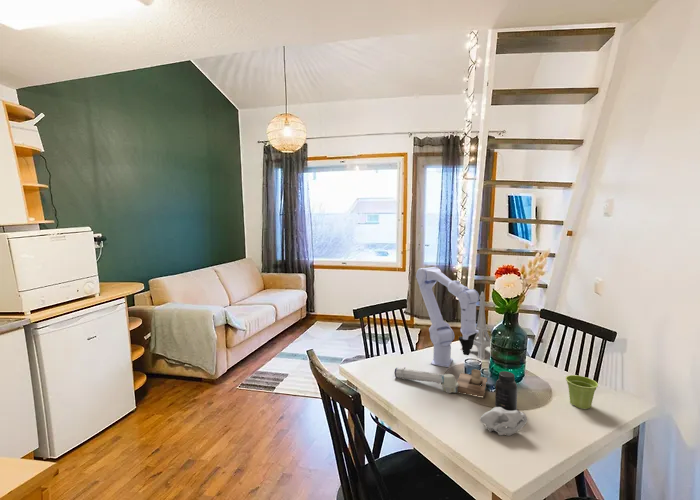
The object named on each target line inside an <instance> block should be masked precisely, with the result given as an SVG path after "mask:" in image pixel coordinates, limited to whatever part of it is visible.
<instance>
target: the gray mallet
mask: <svg viewBox="0 0 700 500" xmlns="http://www.w3.org/2000/svg"><path fill="white" fill-rule="evenodd" d="M394 377H395V378H396V379H403V380H404V381H405V380H413V381H421V382H429V383H438V384H440V385H441V387H442V390H443V392H446V393H447V394H451V393H454V394H455V393H458V388H457V387H458V386H459V384H458V382H457V381H456V380H457V379H456V377H455V376H454V374H452V373H444V374H441V373H439V374H438V373H434V372H429V371H428V372H427V371H422V370H418V369H417V370H416V369H411V368H406V367H403V368H402V367H396V368H395V369H394Z"/></svg>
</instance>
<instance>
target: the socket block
mask: <svg viewBox="0 0 700 500" xmlns="http://www.w3.org/2000/svg"><path fill="white" fill-rule="evenodd" d="M456 382H458V384H459V386H458V387H457V388H458V392H460V393H459V394H463V393H466V394H465V395H467V394H472V395H477V396H483V397H484V398H485V394H486V391H485V388H486V389H487V387H486V382H487V383H488V377H483V376H481V381H480V385H481V384H482V386H477V385H472V383H471V374H469V373H463V372H460V374H459V377H458V379H457V381H456ZM458 392H457V393H458ZM484 393H485V394H484Z"/></svg>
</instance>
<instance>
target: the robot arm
mask: <svg viewBox="0 0 700 500" xmlns="http://www.w3.org/2000/svg"><path fill="white" fill-rule="evenodd" d="M415 273H416V274H415V278H416V281H417V284H418V286H419V287H418V288H419V291H420V294H421V296H422V299H423V302H424V305H425V308H426V310H427V314H428V316H429V319H430V322H431V325H430V327H429V328H428V332H429V338H430V340H431V341H430V342H431V343H432V344H433V358H432V360H431V362H430V364H431V365H435V366H439V367H444V368H450V367H451V364H452V362H453V358H452V357H451V355H452V354H451V353H452V352H451V351H452V346H451V345H452V342H453V341H454V340H455V332H454V330H453V329H452V328H451V326H450V324H449V323H448V322H446V321H444V318H443V315H442V313H441V309H440V307H439V304H438V301H437V298H436V296H435V294H434V289H433V287H434V286H436V285H435V284H436V283H437V282H438V283H440V284H441V285H442V286H445V287H446V288H447V291H448V292H449V293H450V294H452V295H453V296H454V297H456V298H457V300H458V301H459V304H460V305H459V307H460V314H461V315H460V333H461V334H462V336H460V335H459V337H458V341H459V343H460V345H461V348H462V350H463V351H462V350H461V351H462V355H464V356H470V353H471V350H472V349H473V346H474V345H473V342H474V338H475V336H476V334H477V333H478V334H479V331H478V330H476V327H477V323H476V322H477V321H476V320H477V304H478V303H479V302H480V294H479V292H478V291H477V290H476V289H475V288H471V289H470V288H469V287H468V286H466V285H464V284H462V283H461V282H460V280H454V279H453V280H452V279H451V278H449V277H448V276H446V274H445V273H443V272H442V271H441V269H440V268H439V267H437V266H433V267H431V266H430V267H419V268H418V269H417V271H416V272H415Z"/></svg>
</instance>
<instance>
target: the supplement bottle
mask: <svg viewBox="0 0 700 500" xmlns="http://www.w3.org/2000/svg"><path fill="white" fill-rule="evenodd" d="M494 397H495V398H494V399H495V407H501V408H503V409H505V410H508V411H514V410H518V408H517V407H518V384H517V382H516V381H515V374H514V373H512V371H511V372H510V371H504V370H502V371H499V373H498V379H497V380H496V381H495V396H494Z"/></svg>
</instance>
